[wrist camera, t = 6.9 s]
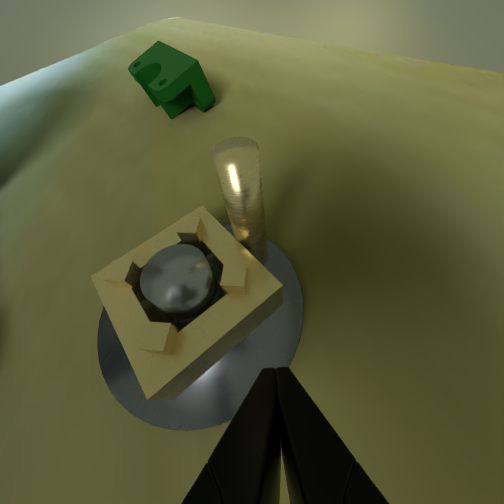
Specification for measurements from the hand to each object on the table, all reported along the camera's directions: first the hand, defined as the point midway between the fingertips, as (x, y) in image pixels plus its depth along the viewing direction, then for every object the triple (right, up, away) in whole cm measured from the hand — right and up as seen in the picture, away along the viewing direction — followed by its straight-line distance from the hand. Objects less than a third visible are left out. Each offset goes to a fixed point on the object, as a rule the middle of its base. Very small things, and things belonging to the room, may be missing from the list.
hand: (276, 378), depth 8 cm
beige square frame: (-4, +2, +8) cm, 9 cm away
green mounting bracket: (-12, +25, +26) cm, 38 cm away
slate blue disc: (-4, 0, +9) cm, 10 cm away
